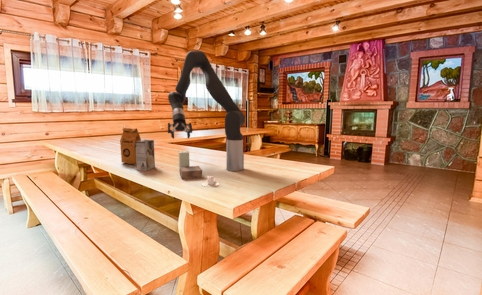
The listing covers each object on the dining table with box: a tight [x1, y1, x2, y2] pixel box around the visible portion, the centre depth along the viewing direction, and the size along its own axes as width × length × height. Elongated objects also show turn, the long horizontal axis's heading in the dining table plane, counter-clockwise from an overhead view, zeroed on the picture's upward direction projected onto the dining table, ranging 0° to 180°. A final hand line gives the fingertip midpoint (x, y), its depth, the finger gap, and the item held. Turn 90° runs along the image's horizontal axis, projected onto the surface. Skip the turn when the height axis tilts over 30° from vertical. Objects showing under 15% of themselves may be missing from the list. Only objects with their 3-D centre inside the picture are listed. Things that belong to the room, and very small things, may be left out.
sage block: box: [178, 150, 190, 172], centre depth 145 cm, size 5×5×11 cm
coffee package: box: [119, 127, 142, 166], centre depth 163 cm, size 10×12×22 cm
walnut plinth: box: [179, 165, 203, 180], centre depth 136 cm, size 10×10×4 cm
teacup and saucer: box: [201, 175, 220, 188], centre depth 123 cm, size 9×8×4 cm
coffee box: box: [135, 139, 156, 172], centre depth 150 cm, size 9×6×16 cm
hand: (181, 137), depth 154 cm, fingers open, 8 cm apart
